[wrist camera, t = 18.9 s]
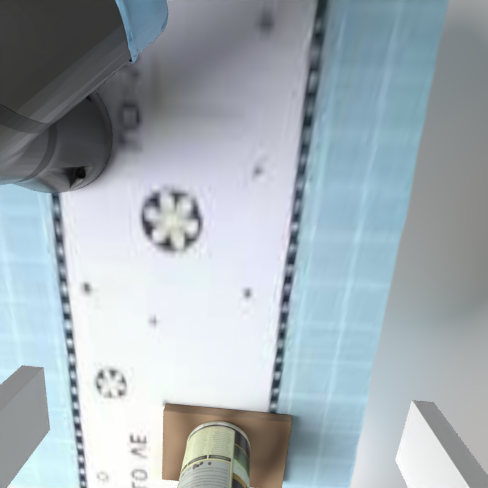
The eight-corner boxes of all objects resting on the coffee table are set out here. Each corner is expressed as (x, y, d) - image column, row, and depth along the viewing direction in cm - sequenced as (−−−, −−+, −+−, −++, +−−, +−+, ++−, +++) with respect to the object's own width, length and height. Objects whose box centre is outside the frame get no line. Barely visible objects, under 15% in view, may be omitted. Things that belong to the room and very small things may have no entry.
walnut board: (164, 470, 54) (162, 479, 52) (166, 403, 50) (163, 411, 48) (280, 481, 54) (281, 490, 52) (290, 415, 50) (292, 422, 48)
